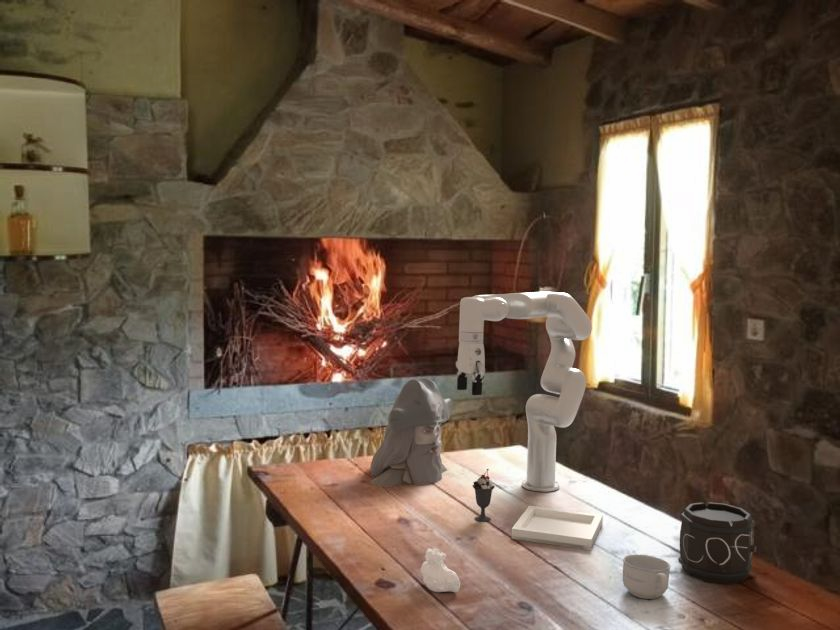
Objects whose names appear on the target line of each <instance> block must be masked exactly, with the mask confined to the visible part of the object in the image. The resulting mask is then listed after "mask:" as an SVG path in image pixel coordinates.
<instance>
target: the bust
mask: <svg viewBox="0 0 840 630" xmlns="http://www.w3.org/2000/svg"><path fill="white" fill-rule="evenodd" d="M392 405H393V406H392V408H391V410H390V412H389V413H388V417H387V425H386V427H385V430H384V435H383V442H382V443H381V445H380V446H379V448H378V449H377V450H376V451H375V453H374V454H373V457H372V459H371V463H370V469H369V471H370V472H369V473H370V475H371V476H372V477H374V478H373V479H371V480H370V484H371V485H374V484H375V486H378V485H379V486H378V487H381V486H384V487H385V486H393V487H397V486H396V485H398V486H401V485H400V484H402V485H405V484H404V483H406V484H409V485H413V484H414V485H416V484H417V486H419V485H420V486H421V485H430V484H436V483H439V482H440V481H442V480H443V475H442V474H443V473H446V472H447V471H448V469H447V467H446V466H445V465H444V464H443V461H442V458H441V450H442V447H443V444H442V443H443V442H442V426H443V423H446V422H447V421H448V420H450V415H451V408H452V399H451V398H450V397H449V398H448V397H447V398H443V396H442V394H441V392H440V389H439V387H438V385H437V384H436V383H435V382H434V381H432V380H431V379H429V378H426V377H422V378H421V377H420V378H417V379H409V380H408V381H407V382H406V383H405V384H404V385H403V387H402V389H401V391H400V392H399V394H398V395H397V397H396V399H395V401H394V402H393V404H392ZM435 482H436V483H435ZM384 487H383V488H384ZM385 488H386V487H385Z"/></svg>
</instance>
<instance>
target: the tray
mask: <svg viewBox="0 0 840 630" xmlns="http://www.w3.org/2000/svg"><path fill="white" fill-rule="evenodd" d="M603 516H604V514H597V513H590V512H582V511H574V510H568V509H566V510H565V509H561V508H559V509H558V508H551V507H542V506H536V505H528V507H527V508H526V509H525V511H524V512H523V513H522V514H521V516H520V517H519V518H518V520H517V521H516V523H515V524H514V525H513V527H512V528H511V540H516V541H522V542H523V541H524V542H532V543H539V544H544V543H545V545H546V544H547V545H553V546H559V547H568V548H573V549H579V550H585V551H586V550H588V551H592V549H593V547H594V544H595V542H596V540H597V538H598V535H599V533H600V531H601V529H602V527H603V521H604V519H603V518H604V517H603Z"/></svg>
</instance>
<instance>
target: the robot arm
mask: <svg viewBox="0 0 840 630" xmlns="http://www.w3.org/2000/svg"><path fill="white" fill-rule="evenodd" d="M505 318H506V319H512V320H513V319H514V320H525V319H536V318H537V319H538V318H546V321H545V329H546V332H547V335H548V337H549V340H550V347H551V349H550V352H549V356H548V358H547V361H546V364H545V366H544V369H543V372H542V375H541V378H540V386H541V388H542V389H543V390H544V391H545V392H548V393H551V394H556V395H559V397H558V396H553V395H549V394H544V393H536V394H533V395H531V396H530V397H529V398H527V399H528V400H527V401H526V404H525V413H526V421H527V431H528V432H527V438H528V439H527V455H526V457H527V459H526V462H527V463H526V465H527V466H526V479H523V480H522V482H521V486H522V488H524V489H525V490H528V491H533V492H543V493H544V492H546V493H547V492H554V491H557V490H559V489H560V483H559V482H558V481H556V467H557V466H556V464H557V463H556V460H557V459H556V457H557V456H556V455H557V432H556V428H555V427H557V428H567V427H569V426H570V425H571V424H573V422H574V420H575V418H576V416H577V414H578V411H579V408H580V406H581V403H582V400H583V397H584V396H585V395H584V394H585V392H586V388H587V380H586V375H585V374H584V372H583V371H582V370H581V369H578V368H575V367H573V366H574V362H575V359H576V350H575V346H574V342H573V341H583V340H587V338H589V337H590V335H591V333H592V331H593V330H592V329H593V327H592V326H593V325H592V321H591V319H590V318H589V316H588V314H587V313H586V312H585V311H584V309H583V308H582V307H581V305H580V304H579V303H578V302H577V300H575V298H573V297H572V295H570V294H569V293H566V292H557V291H534V292H533V291H532V292H531V291H530V292H515V293H499V294H498V293H497V294H476V295H474V296H468V297H463V298H461V299H460V303H459V325H458V326H459V327H458V328H459V329H458V342H459V345H458V351H457V360H456V361H455V367H456V369H455V370H456V377H457V383H456V390H458V391H464V390H465V391H466V390H467V388H468V376H467V375H469V376H471V377H472V380H473V381H472V382H471V395H472V396H481V395H482V394H483V393H482V392H483V382H484V378H485V374H486V368H485V366H486V364H485V362H486V360H485V359H486V357H485V346H484V328H485V327H484V326H485V321H491V322H499V321H502V320H503V319H505ZM572 340H573V341H572Z"/></svg>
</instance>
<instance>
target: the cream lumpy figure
mask: <svg viewBox="0 0 840 630" xmlns="http://www.w3.org/2000/svg"><path fill="white" fill-rule="evenodd" d="M424 557H425V561H423V562H422V564H421V566H420V567H421V568H420V569H419V571H421V572H420V573H421V574H422V578H423V581H422V582H423V583H424V584H425V586H426V587H427V589H428V590H430V591H432V592H434V593H443V592H444V593H445V592H450V593H451V592H452V593H457V592H458V591H459V590H460V587H461V580H460V578H459V577H458V574H457V573H456V572H455V571H453V570H451V569H450V568H448V566H447V565H446V564H445V563H444V561H445V559H446V558H447V554H446V553H444V552H440V549H439V548H435V547H433V548H430V547H428V548H427V549H426V551H425V555H424Z"/></svg>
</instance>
